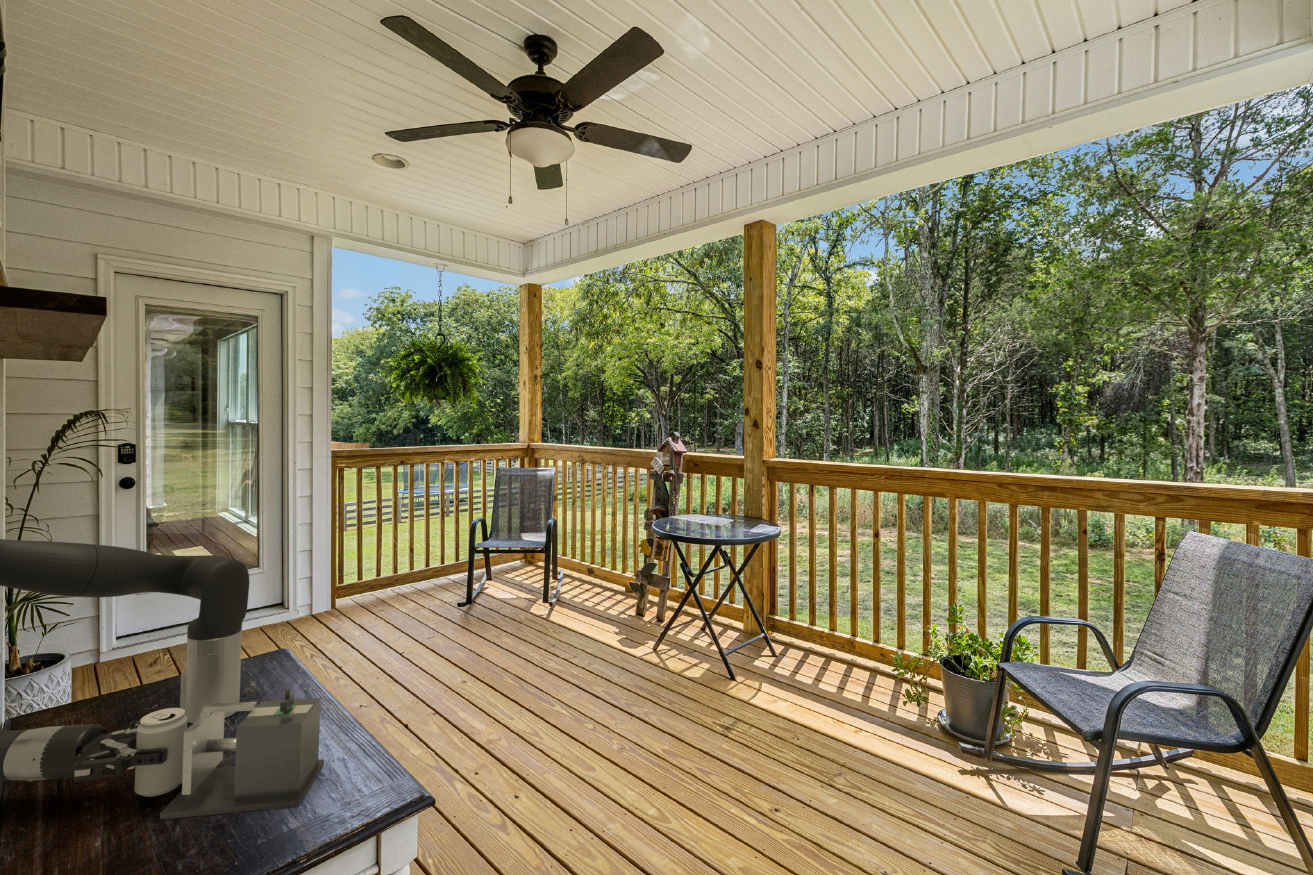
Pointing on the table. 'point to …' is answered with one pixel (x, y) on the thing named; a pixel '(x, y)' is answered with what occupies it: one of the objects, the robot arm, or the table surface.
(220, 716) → the paddle
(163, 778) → the beverage can
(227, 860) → the table surface
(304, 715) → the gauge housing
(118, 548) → the robot arm
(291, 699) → the peak needle
